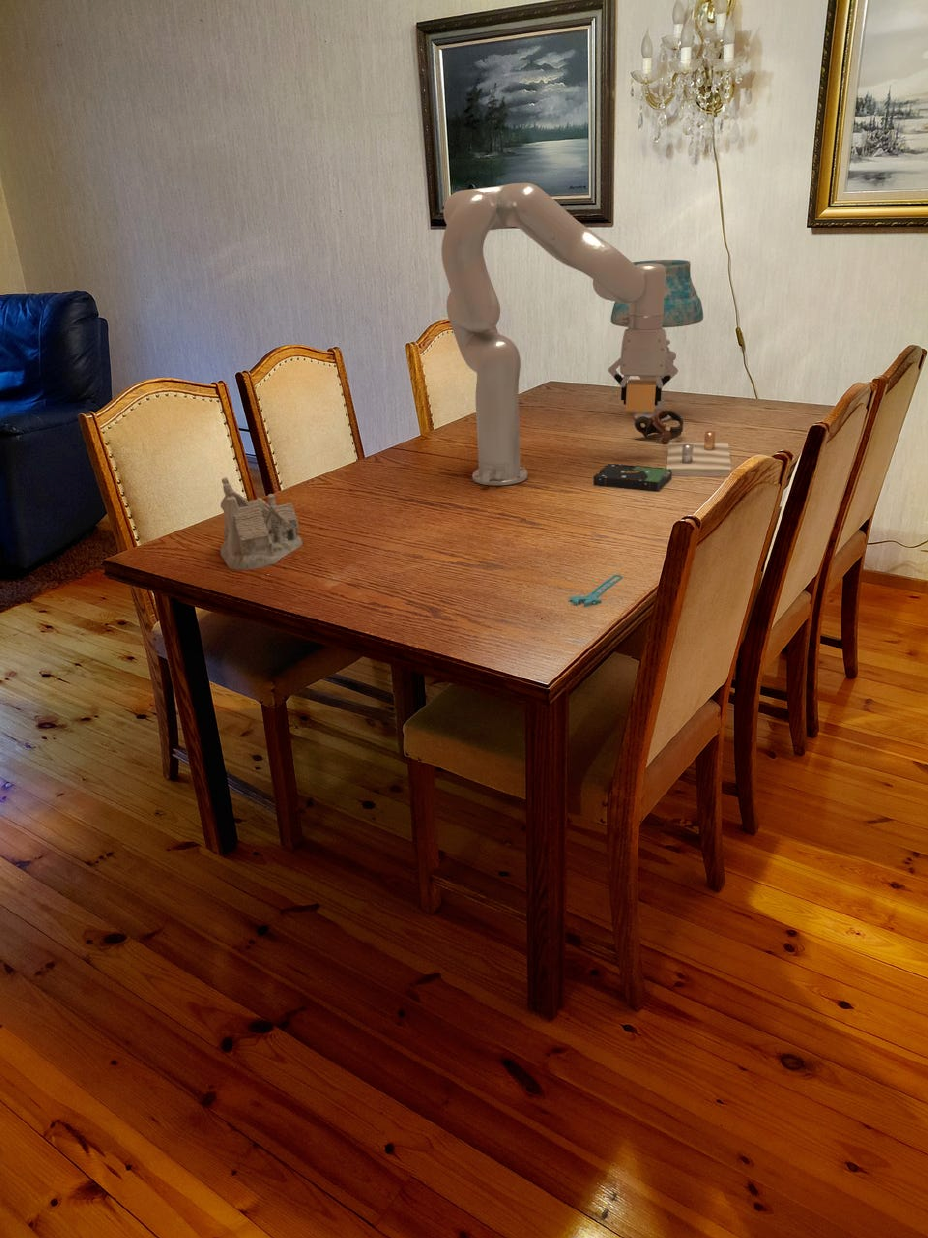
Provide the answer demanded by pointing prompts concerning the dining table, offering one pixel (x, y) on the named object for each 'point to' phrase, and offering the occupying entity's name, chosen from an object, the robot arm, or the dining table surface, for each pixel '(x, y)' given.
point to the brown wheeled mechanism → (660, 425)
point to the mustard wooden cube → (640, 395)
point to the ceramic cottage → (256, 530)
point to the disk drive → (632, 477)
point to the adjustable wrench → (595, 593)
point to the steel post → (687, 453)
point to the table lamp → (669, 310)
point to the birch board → (699, 460)
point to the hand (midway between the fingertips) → (640, 403)
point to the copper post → (709, 441)
